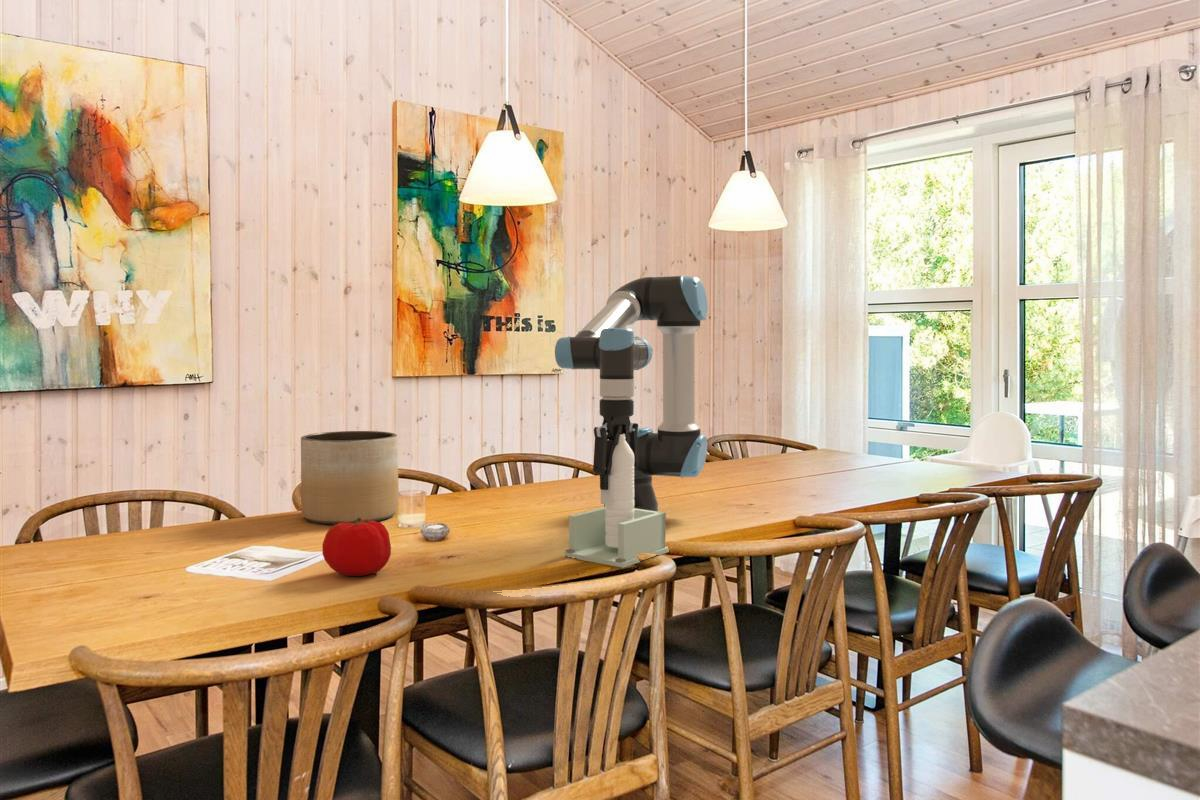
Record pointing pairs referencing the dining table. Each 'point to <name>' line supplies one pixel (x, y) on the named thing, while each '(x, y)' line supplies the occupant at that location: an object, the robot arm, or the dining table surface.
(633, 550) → the u rest
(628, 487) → the water bottle
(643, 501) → the robot arm
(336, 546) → the tomato
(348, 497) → the planter
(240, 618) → the dining table surface
